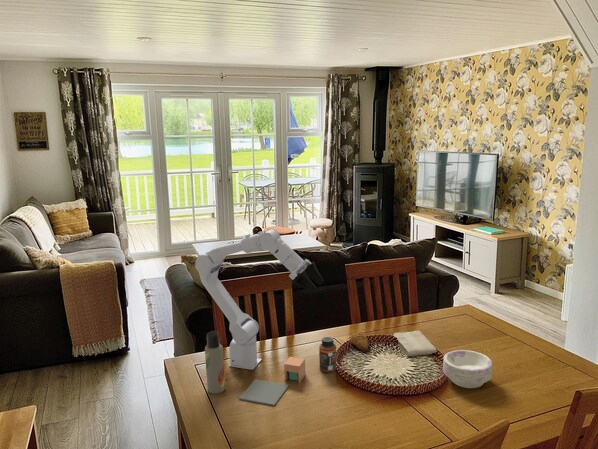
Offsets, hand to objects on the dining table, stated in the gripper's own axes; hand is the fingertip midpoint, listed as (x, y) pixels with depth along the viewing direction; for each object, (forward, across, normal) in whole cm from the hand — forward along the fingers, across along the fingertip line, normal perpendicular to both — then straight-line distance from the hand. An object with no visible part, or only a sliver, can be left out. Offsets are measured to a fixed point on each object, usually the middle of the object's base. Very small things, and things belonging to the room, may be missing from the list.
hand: (318, 286), depth 160 cm
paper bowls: (+57, +11, -7) cm, 58 cm away
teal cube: (+16, -4, +29) cm, 33 cm away
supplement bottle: (+22, +5, +23) cm, 33 cm away
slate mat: (+11, -17, +33) cm, 38 cm away
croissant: (+27, +27, +20) cm, 43 cm away
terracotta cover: (+15, -4, +29) cm, 33 cm away
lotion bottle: (-1, -20, +43) cm, 48 cm away
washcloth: (+42, +33, +7) cm, 54 cm away
